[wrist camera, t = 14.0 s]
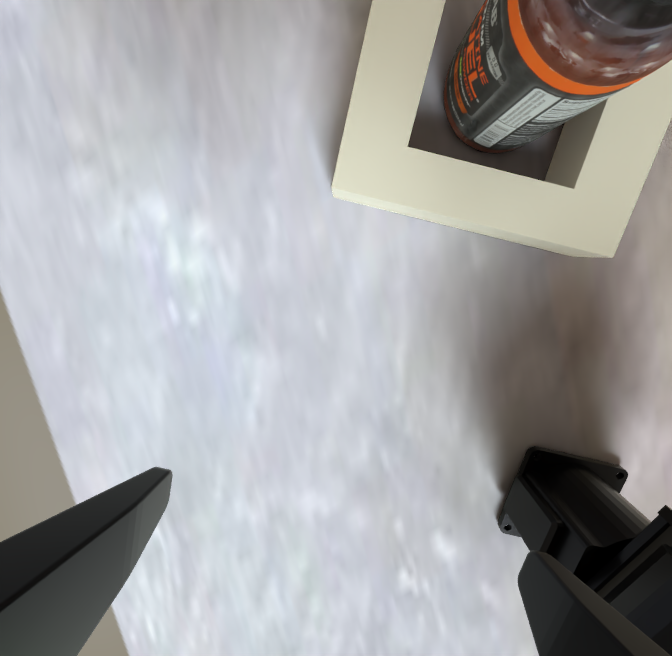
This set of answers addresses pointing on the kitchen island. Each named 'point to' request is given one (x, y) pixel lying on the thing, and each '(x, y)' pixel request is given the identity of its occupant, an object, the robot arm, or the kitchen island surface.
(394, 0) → the u-shaped block
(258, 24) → the kitchen island surface
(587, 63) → the supplement bottle
